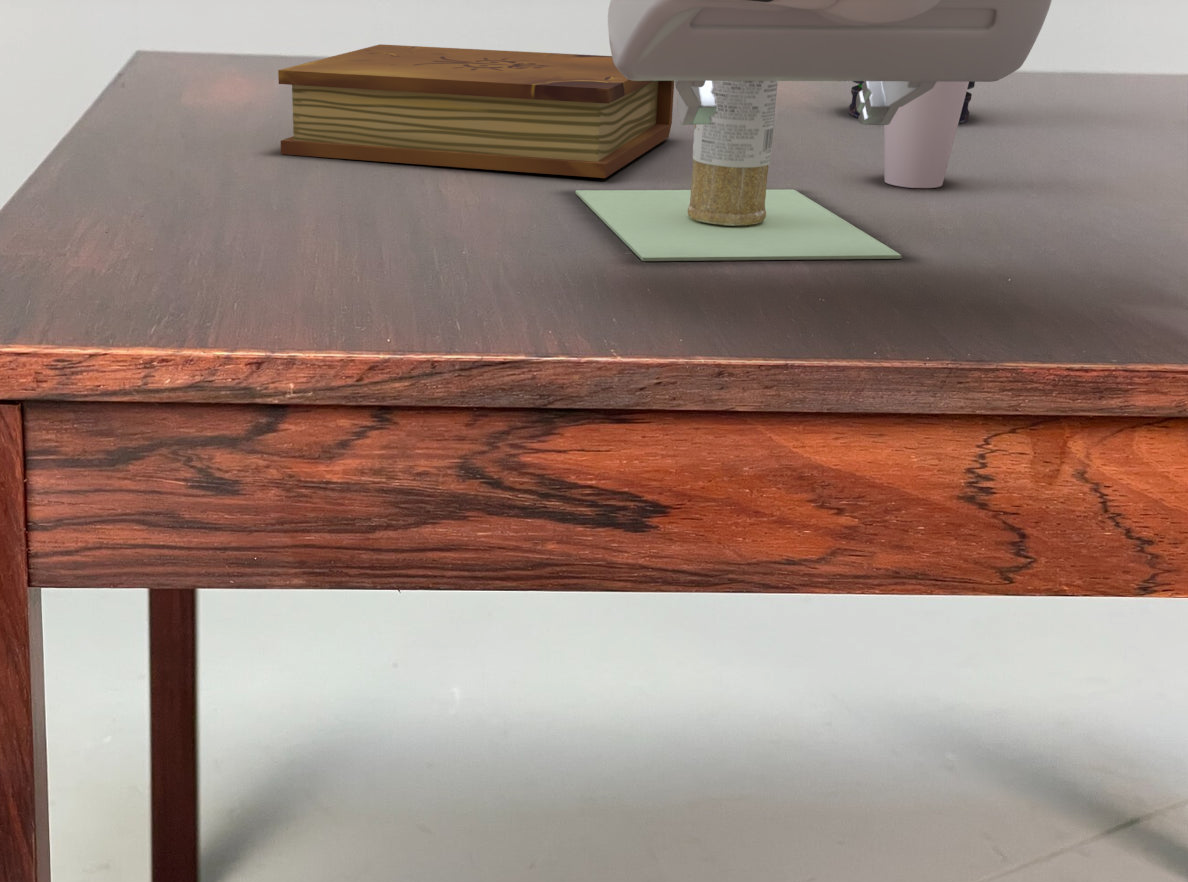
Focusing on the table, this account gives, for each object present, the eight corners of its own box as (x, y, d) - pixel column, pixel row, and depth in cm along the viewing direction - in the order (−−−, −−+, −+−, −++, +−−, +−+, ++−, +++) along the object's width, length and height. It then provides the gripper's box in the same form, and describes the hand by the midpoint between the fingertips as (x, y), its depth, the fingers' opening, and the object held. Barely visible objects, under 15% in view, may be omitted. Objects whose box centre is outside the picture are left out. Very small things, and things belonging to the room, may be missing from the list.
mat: (901, 258, 86) (901, 254, 86) (642, 261, 84) (642, 257, 84) (793, 192, 102) (794, 189, 102) (575, 193, 100) (575, 190, 100)
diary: (670, 138, 121) (676, 58, 118) (605, 181, 104) (610, 89, 102) (383, 117, 127) (383, 40, 125) (280, 154, 111) (278, 66, 109)
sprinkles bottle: (706, 208, 96) (725, -33, 91) (778, 218, 94) (802, -28, 88) (672, 221, 92) (690, -29, 87) (746, 232, 90) (769, -24, 85)
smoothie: (891, 193, 103) (920, -42, 97) (846, 174, 108) (871, -48, 103) (982, 190, 104) (1016, -41, 99) (933, 172, 110) (962, -47, 104)
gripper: (1083, -135, 73) (963, 64, 85) (637, -145, 70) (582, 62, 83) (1115, -23, 70) (987, 165, 83) (655, -28, 68) (595, 166, 81)
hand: (782, 114), depth 83 cm, fingers open, 8 cm apart
